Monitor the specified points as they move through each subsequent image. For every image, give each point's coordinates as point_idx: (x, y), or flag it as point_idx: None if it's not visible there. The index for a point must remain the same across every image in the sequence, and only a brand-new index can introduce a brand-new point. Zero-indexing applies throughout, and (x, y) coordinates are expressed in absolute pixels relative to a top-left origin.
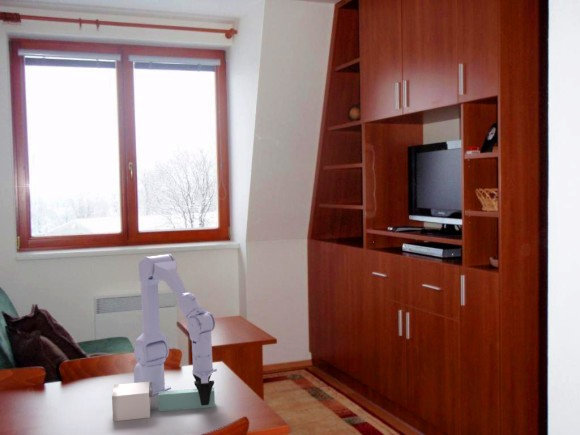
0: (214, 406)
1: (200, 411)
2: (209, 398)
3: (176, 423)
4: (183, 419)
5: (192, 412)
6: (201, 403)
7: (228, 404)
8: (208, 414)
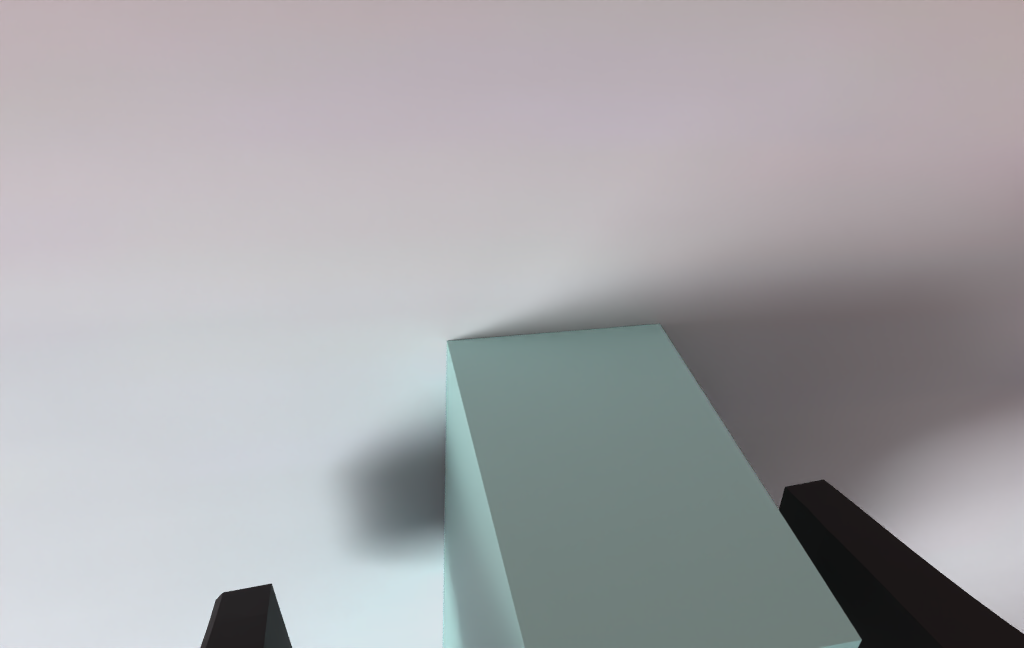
0: (665, 343)
1: None
2: (934, 572)
3: None
4: None
5: None
6: None
7: (572, 30)
8: (945, 389)
